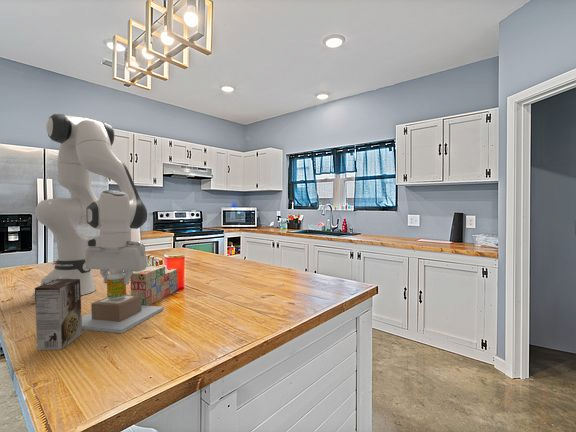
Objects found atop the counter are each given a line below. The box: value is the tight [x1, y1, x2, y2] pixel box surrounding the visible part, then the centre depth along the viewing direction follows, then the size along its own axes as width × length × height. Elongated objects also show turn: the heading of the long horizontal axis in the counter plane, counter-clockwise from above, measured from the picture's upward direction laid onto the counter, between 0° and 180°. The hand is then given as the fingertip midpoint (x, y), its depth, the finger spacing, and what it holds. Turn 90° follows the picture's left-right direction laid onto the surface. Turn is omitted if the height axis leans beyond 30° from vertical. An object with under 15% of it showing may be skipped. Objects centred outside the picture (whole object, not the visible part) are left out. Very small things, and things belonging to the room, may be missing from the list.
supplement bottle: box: [106, 268, 127, 299], centre depth 100 cm, size 5×5×10 cm
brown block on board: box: [81, 294, 165, 334], centre depth 100 cm, size 20×20×6 cm
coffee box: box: [34, 279, 83, 351], centre depth 83 cm, size 9×6×16 cm
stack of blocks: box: [130, 265, 179, 306], centre depth 122 cm, size 21×6×12 cm, turn 169°
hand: (116, 283), depth 100 cm, fingers closed on supplement bottle, 5 cm apart
